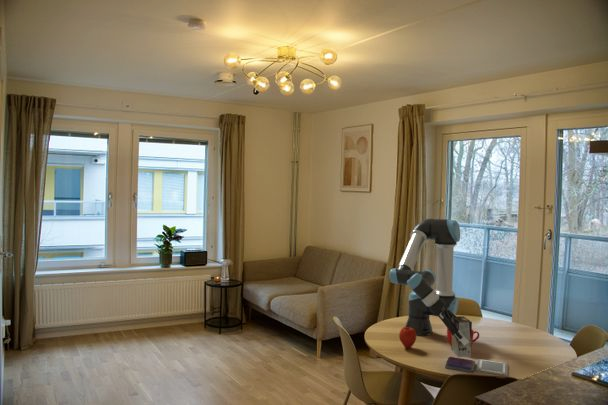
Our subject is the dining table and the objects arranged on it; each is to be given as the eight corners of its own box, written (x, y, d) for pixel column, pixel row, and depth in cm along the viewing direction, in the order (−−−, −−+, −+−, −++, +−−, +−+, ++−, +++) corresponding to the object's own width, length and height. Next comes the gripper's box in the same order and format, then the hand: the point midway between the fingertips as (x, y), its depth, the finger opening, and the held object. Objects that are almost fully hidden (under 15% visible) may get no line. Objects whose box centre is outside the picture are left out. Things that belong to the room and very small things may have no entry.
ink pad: (445, 368, 216) (445, 364, 216) (448, 359, 227) (448, 355, 227) (473, 372, 211) (473, 368, 211) (475, 363, 222) (475, 359, 222)
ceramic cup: (485, 352, 237) (486, 333, 237) (453, 354, 234) (454, 334, 234) (472, 344, 250) (472, 325, 250) (442, 345, 247) (442, 326, 247)
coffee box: (471, 356, 215) (472, 322, 214) (457, 357, 214) (458, 322, 213) (463, 349, 224) (464, 316, 223) (449, 349, 223) (451, 316, 223)
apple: (397, 349, 239) (398, 328, 239) (400, 344, 247) (401, 323, 247) (414, 352, 236) (415, 330, 236) (417, 346, 244) (417, 325, 244)
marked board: (475, 371, 213) (476, 369, 213) (478, 360, 227) (478, 358, 227) (507, 376, 208) (507, 374, 208) (507, 364, 221) (507, 363, 221)
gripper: (436, 303, 211) (472, 342, 206) (443, 292, 232) (476, 327, 227) (424, 313, 214) (459, 352, 208) (431, 301, 235) (464, 337, 229)
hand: (468, 339), depth 218 cm, fingers closed on coffee box, 11 cm apart
